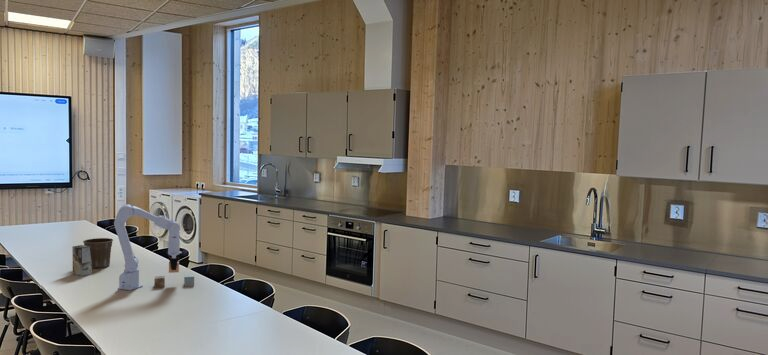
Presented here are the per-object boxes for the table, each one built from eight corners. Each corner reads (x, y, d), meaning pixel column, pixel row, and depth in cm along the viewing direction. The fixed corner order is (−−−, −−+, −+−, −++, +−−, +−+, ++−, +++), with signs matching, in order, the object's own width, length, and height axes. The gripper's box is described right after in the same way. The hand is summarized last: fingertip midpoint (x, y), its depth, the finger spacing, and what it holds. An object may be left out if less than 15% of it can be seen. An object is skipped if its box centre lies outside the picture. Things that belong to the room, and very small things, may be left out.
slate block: (184, 286, 299) (184, 277, 299) (184, 283, 304) (184, 274, 303) (194, 285, 301) (194, 276, 300) (193, 283, 305) (193, 274, 305)
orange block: (168, 272, 297) (168, 263, 297) (168, 270, 302) (169, 261, 301) (178, 272, 299) (178, 263, 298) (178, 270, 303) (178, 261, 303)
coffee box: (92, 274, 317) (92, 246, 316) (81, 276, 312) (81, 248, 310) (82, 271, 321) (82, 244, 320) (71, 273, 316) (71, 246, 315)
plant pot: (76, 268, 330) (76, 241, 329) (96, 262, 345) (96, 237, 344) (99, 270, 326) (99, 243, 325) (118, 264, 342) (119, 239, 341)
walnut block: (154, 287, 294) (154, 278, 293) (154, 285, 298) (154, 276, 298) (164, 287, 295) (164, 278, 295) (164, 284, 300) (164, 275, 300)
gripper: (182, 246, 294) (181, 271, 295) (181, 241, 307) (181, 265, 308) (167, 246, 291) (167, 272, 292) (168, 241, 305) (167, 266, 306)
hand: (173, 268), depth 300 cm, fingers closed on orange block, 5 cm apart
